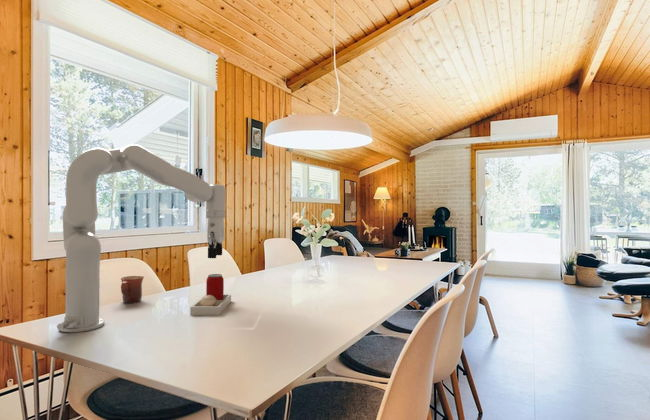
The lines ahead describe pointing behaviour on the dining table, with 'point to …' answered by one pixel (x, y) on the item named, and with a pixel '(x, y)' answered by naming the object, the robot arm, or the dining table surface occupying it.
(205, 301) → the wooden egg
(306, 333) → the dining table surface
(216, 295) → the beverage can
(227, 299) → the carton
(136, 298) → the mug
